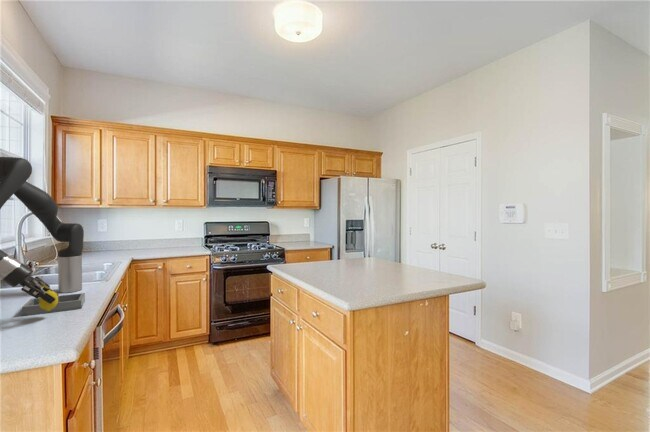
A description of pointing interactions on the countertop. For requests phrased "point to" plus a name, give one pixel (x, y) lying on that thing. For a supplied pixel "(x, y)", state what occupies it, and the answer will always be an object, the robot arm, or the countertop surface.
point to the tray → (63, 305)
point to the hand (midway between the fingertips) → (54, 299)
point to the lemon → (45, 304)
